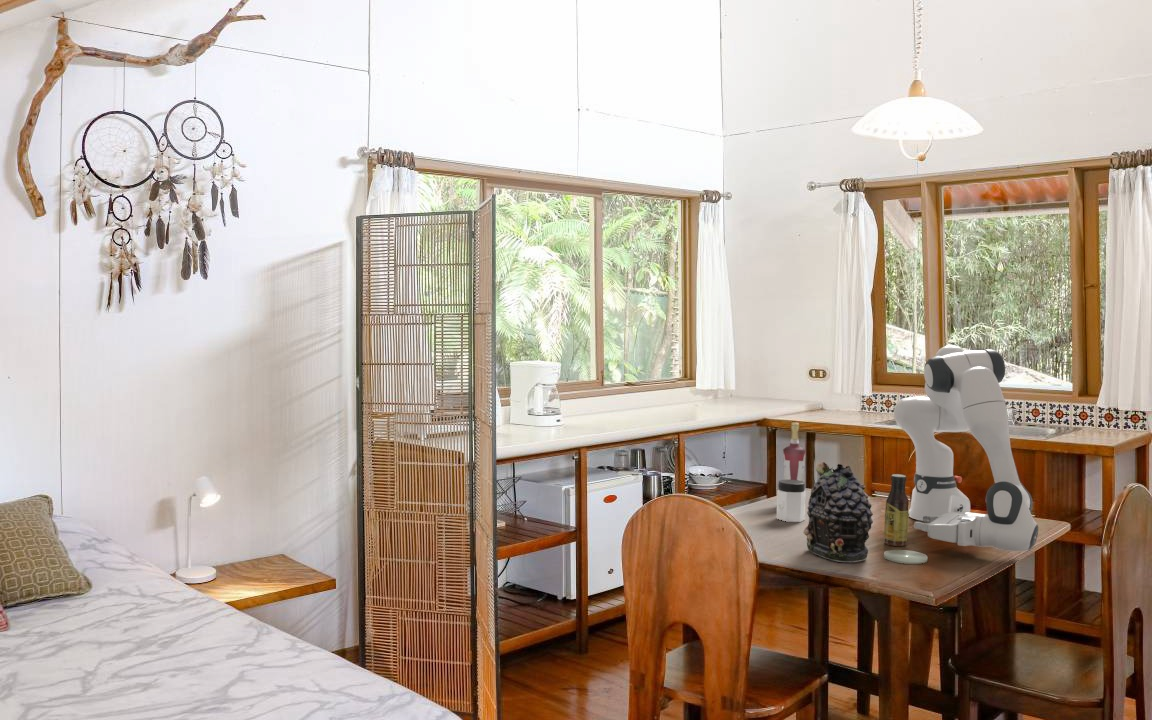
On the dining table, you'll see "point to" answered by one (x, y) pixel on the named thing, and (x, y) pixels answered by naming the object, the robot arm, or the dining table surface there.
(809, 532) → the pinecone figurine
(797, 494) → the jar
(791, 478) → the liquor
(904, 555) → the round plate
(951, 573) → the dining table surface
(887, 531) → the sauce bottle
